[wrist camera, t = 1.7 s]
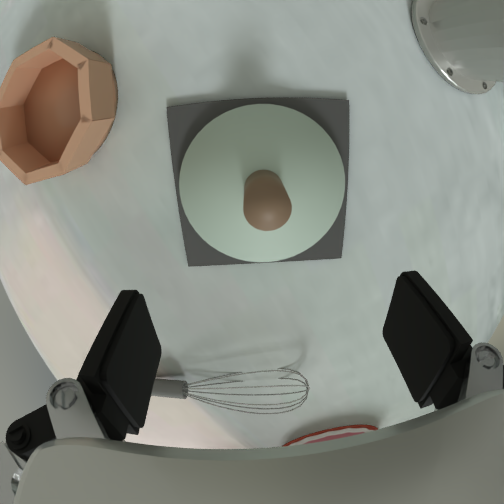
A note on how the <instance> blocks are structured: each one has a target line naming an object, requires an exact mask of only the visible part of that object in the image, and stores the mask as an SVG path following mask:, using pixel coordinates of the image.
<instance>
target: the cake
mask: <svg viewBox="0 0 504 504" xmlns="http://www.w3.org/2000/svg"><path fill="white" fill-rule="evenodd" d="M374 430H378V428H376V427H374V426H371V425H350V426H343V427H337V428H332V429H327V430H323V431H319V432H315V433H312V434H309V435H306V436H303V437H300V438H297V439H295V440H293V441H290V442H288V443H287V444H285V445H283V446H293V445H301V444H309V443H315V442H322V441H328V440H333V439H339V438H344V437H348V436H353V435H358V434H362V433H366V432H370V431H374ZM283 446H282V447H283Z"/></svg>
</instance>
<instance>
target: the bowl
mask: <svg viewBox="0 0 504 504" xmlns="http://www.w3.org/2000/svg"><path fill="white" fill-rule="evenodd" d="M117 103H118V89H117V82H116V78H115V75H114V73H113V70H112V65H111V64H110V63H109V62H107V61H106V60H105V59H104V58H103V57H102V56H101V55H99V54H98V53H96V52H94V51H91V50H89V49H87V48H86V47H84V46H82V45H81V44H79V43H77V42H73V41H69V40H65V39H61V38H56V37H52V38H50V39H48V40H46V41H44V42H42V43H41V44H39V45H37V46H35V47H34V48H32V49H30V50H29V51H27V52H25V53H24V54H22V55H20V56H19V57H17V58H16V59H14V60H13V62H12V64H11V66H10V68H9V70H8V72H7V74H6V76H5V78H4V81H3V83H2V85H1V87H0V160H1V162H2V163H3V164H4V165H5V166H6V167H7V168H8V169H9V170H10V171H11V172H12V173H13V174H14V175H15V176H16V177H17V178H18V179H19V180H21V181H22V182H23V183H24V184H25V185H28V184H31V183H34V182H38V181H41V180H45V179H49V178H52V177H56V176H60V175H64V174H66V173H68V172H70V171H72V170H74V169H76V168H78V167H81V166H83V165H85V164H87V163H88V162H89V160H90V158H91V157H92V155H93V154H94V153H95V152H96V151H97V150H98V149H99V148H100V147H101V145H102V144H103V142H104V141H105V140H106V138H107V136H108V134H109V132H110V130H111V127H112V125H113V122H114V119H115V115H116V110H117Z"/></svg>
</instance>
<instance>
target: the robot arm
mask: <svg viewBox="0 0 504 504" xmlns="http://www.w3.org/2000/svg"><path fill="white" fill-rule="evenodd" d="M411 14H412V23H413V27H414V30H415V34H416V36H417V39H418V41H419V44H420V46H421V48H422V50H423V52H424V54H425V56H426V57H427V59H428V60H429V62H430V63H431V65H432V66H433V67H434V68H435V70H436V71H437V72H438V73H439V74H440V76H441V77H443V78H444V79H445V80H446V81H447V82H448V83H449V84H451V85H452V86H453V87H455V88H456V89H458V90H460V91H463V92H466V93H470V94H482V93H486V92H488V91H489V90H491V89H492V87H493V86H494V85H495V83H496V81H498V82H504V0H414V1H413V3H412V12H411ZM383 337H384V339H385V341H386V343H387V345H388V347H389V349H390V351H391V353H392V355H393V357H394V359H395V361H396V363H397V365H398V367H399V369H400V372H401V374H402V376H403V378H404V380H405V382H406V384H407V386H408V389H409V391H410V393H411V395H412V397H413V399H414V401H415V402H418V404H419V406H420V408H424V407H426V406H429V405H432V404H434V406H435V410H434V412H431V413H429V414H426V415H423V416H420V417H417V418H414V419H412V420H408V421H405V422H402V423H399V424H396V425H392V426H389V427H385V428H382V429H378V430H374V431H370V432H366V433H362V434H358V435H353V436H348V437H344V438H339V439H333V440H328V441H322V442H315V443H309V444H301V445H293V446H283V447H272V448H257V449H191V448H177V447H165V446H154V445H146V444H138V443H131V442H126V441H125V440H124V439H125V437H126V433H129V434H135V435H138V433H139V428H142V427H143V426H144V424H145V419H146V415H147V410H148V406H149V402H150V397H151V393H152V389H153V385H154V381H155V377H156V373H157V369H158V365H159V361H160V357H161V345H160V342H159V340H158V337H157V334H156V331H155V329H154V326H153V323H152V320H151V317H150V314H149V311H148V308H147V305H146V302H145V299H144V296H143V294H139V292H138V291H137V290H122V291H121V292H120V294H119V296H118V297H117V299H116V301H115V303H114V305H113V306H112V308H111V310H110V312H109V314H108V316H107V317H106V319H105V321H104V323H103V325H102V327H101V329H100V331H99V333H98V335H97V337H96V339H95V341H94V343H93V345H92V347H91V349H90V351H89V353H88V355H87V357H86V359H85V361H84V363H83V366H82V368H81V370H80V372H79V375H78V377H77V379H76V380H75V379H72V378H64V379H61V380H58V381H57V382H55V383H54V384H53V385H52V386H51V387H50V388H49V390H48V392H47V395H46V405H44V406H42V407H40V408H39V409H37V410H35V411H33V412H31V413H29V414H27V415H25V416H24V417H22V418H20V419H18V420H16V421H14V422H13V423H12V424H11V425H10V426H9V428H8V430H7V433H6V443H4V442H3V441H2V442H1V443H0V504H504V365H503V359H502V356H501V353H500V352H499V351H498V349H497V348H495V347H494V346H493V345H491V344H488V343H478V344H476V345H475V346H474V347H473V348H472V347H471V345H470V344H471V343H472V341H473V340H472V338H471V337H470V336H469V334H468V333H467V332H466V330H465V329H464V328H463V326H462V325H461V324H460V322H459V321H458V320H457V318H456V317H455V316H454V315H453V313H452V312H451V311H450V310H449V308H448V307H447V306H446V305H445V303H444V302H443V301H442V300H441V299H440V297H439V296H438V295H437V294H436V293H435V291H434V290H433V289H432V288H431V287H430V286H429V284H428V283H427V282H426V281H425V280H424V279H423V278H422V276H421V275H420V274H419V273H418V272H417V271H407V272H402V273H401V275H400V276H399V277H398V278H397V280H396V284H395V288H394V292H393V296H392V299H391V303H390V307H389V310H388V314H387V317H386V320H385V324H384V327H383Z"/></svg>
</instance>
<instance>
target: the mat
mask: <svg viewBox="0 0 504 504" xmlns="http://www.w3.org/2000/svg"><path fill="white" fill-rule="evenodd" d="M253 104H274V105H279V106H284V107H287V108H291V109H294V110H296V111H298V112H300V113H302V114H304V115H306V116H308V117H309V118H311V119H312V120H314V121H315V122H316V123H317V124H318V125H319V126H321V127H322V128H323V129H324V130H325V132H326V133H327V134H328V135H329V136H330V138H331V139H332V141H333V142H334V144H335V145H336V147H337V150H338V152H339V154H340V156H341V160H342V163H343V167H344V173H345V191H344V198H343V202H342V206H341V208H340V211H339V213H338V216H337V218H336V219H335V221H334V223H333V225H332V226H331V227H330V229H329V230H328V231H327V233H326V234H325V235H324V236H323V237H322V238H321V239H320V240H319V241H318V242H316V243H315V244H314V245H313V246H311V247H310V248H308V249H307V250H305V251H303V252H301V253H299V254H297V255H295V256H292V257H290V258H287V259H283V260H279V261H273V262H285V261H303V260H320V259H336V258H341V256H342V247H343V237H344V226H345V215H346V201H347V185H348V163H349V100H337V99H321V98H252V99H235V100H222V101H212V102H203V103H194V104H187V105H180V106H173V107H167V118H168V128H169V138H170V147H171V156H172V164H173V172H174V179H175V187H176V194H177V201H178V207H179V214H180V220H181V226H182V232H183V238H184V244H185V250H186V255H187V260H188V266H209V265H229V264H249V263H267V262H250V261H244V260H240V259H236V258H233V257H230V256H228V255H226V254H224V253H222V252H220V251H218V250H216V249H215V248H213V247H212V246H210V245H209V244H208V243H207V242H206V241H204V240H203V239H202V238H201V237H200V235H199V234H198V233H197V232H196V231H195V230H194V228H193V227H192V225H191V224H190V222H189V220H188V218H187V216H186V214H185V212H184V209H183V206H182V202H181V198H180V190H179V178H180V170H181V166H182V162H183V159H184V156H185V153H186V151H187V149H188V148H189V146H190V144H191V142H192V141H193V139H194V138H195V137H196V135H197V134H198V133H199V132H200V131H201V130H202V129H203V128H204V127H205V126H206V125H207V124H208V123H209V122H211V121H212V120H213V119H215V118H216V117H218V116H220V115H221V114H223V113H225V112H227V111H230V110H232V109H235V108H238V107H242V106H246V105H253Z"/></svg>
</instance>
